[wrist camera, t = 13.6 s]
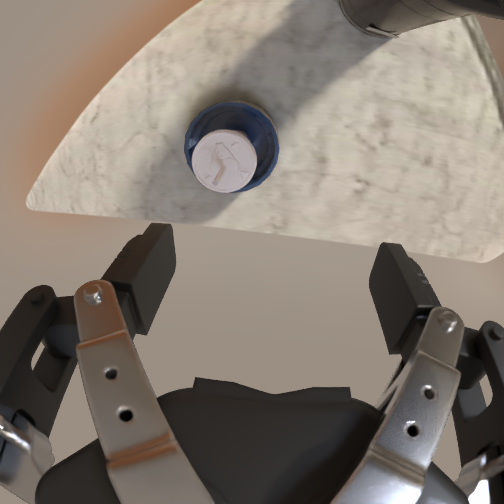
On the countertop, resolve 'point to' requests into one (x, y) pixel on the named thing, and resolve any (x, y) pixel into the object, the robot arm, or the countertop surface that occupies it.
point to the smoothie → (224, 160)
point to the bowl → (243, 119)
